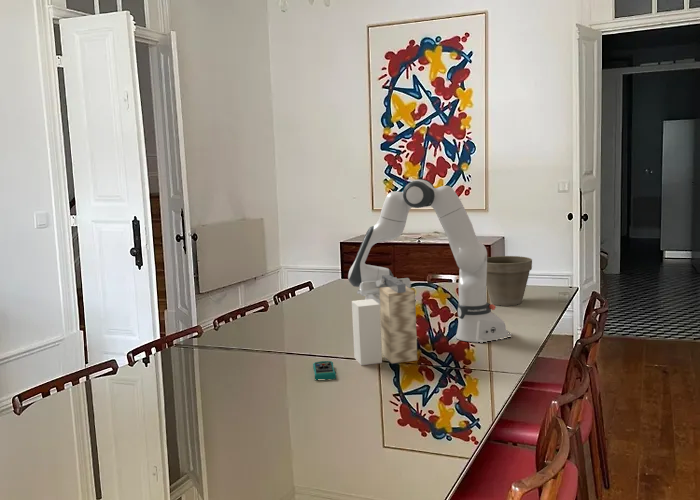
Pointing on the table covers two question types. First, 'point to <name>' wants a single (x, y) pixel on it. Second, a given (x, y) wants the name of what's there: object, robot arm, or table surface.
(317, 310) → the table surface
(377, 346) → the block
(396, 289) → the rod
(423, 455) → the table surface
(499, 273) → the plant pot
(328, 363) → the digital multimeter
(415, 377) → the table surface
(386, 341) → the tall stand
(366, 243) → the robot arm
